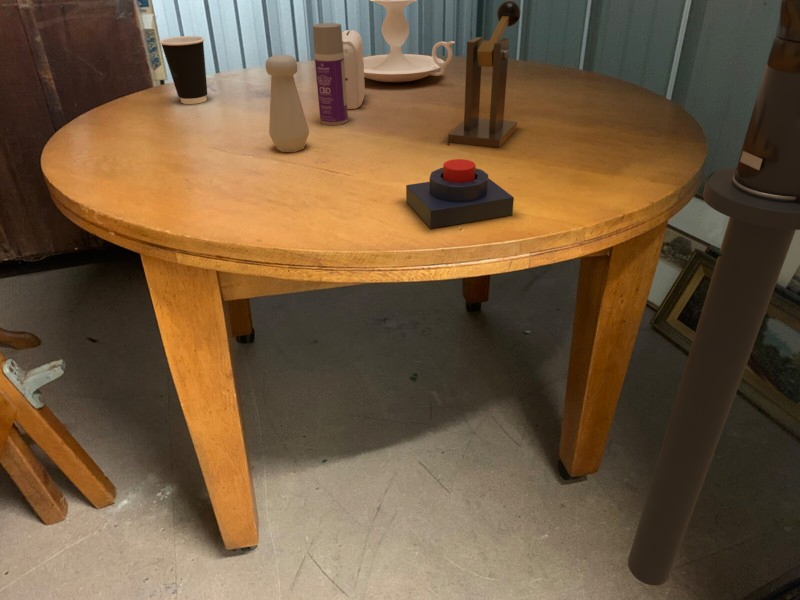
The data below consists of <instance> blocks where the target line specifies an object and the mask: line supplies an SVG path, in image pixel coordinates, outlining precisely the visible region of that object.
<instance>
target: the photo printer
mask: <svg viewBox="0 0 800 600" xmlns="http://www.w3.org/2000/svg"><path fill="white" fill-rule="evenodd" d="M342 41H343V52H344V65H345V80H346V96H347V110H355V109H357V108H360V107H361V106H362V104H363V101H364V99H365V94H366V87H365V86H366V83H365V77H364V62H363V57H364V46H363V45H364V43H363V39H362V36H361V35H360V33H359V32H357V31H356V30H353V29H351V30H348V29H346V30H344V31H342Z"/></svg>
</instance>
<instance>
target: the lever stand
mask: <svg viewBox="0 0 800 600" xmlns="http://www.w3.org/2000/svg"><path fill="white" fill-rule="evenodd" d="M483 40H484V38H483V37H481V36H477V37H474V38H472V39H470V40H468V41H467V42H466V59H465V60H466V61H465V64H466V65H465V86H464V112H463V113H464V116H463V122H461V123H460V124H459V125H458V126H456V127H455V128H454V129H453V130H451V131H450V132H449V133H448V135H447V143H453V144H461V145H471V146H479V147H489V148H495V149H496V148H497V149H500V148H501V147H502V146H503V145H504V144H505V142H506V141H507V140H508V139H509V138H510V137H511V136H512V135H513V134H514V133H515V132H516V131H517V128H518V121H514V120H513V121H511V120H505V104H506V91H507V79H508V78H507V77H508V62H509V57H510V50H509V49H510V38H504V37H503V38H501V39H500V40H499V41H498V42H496V43H494V56H493V67H492V74H491V92H490V108H489V109H490V110H489V118H482V117H480V103H481V100H480V99H481V83H482V82H481V80H482V66H478V57H477V50H478V48H479V46H480V45H481V43H482V41H483Z"/></svg>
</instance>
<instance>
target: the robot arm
mask: <svg viewBox="0 0 800 600" xmlns="http://www.w3.org/2000/svg"><path fill="white" fill-rule="evenodd" d="M772 40H773V41H772V44H771V48H770V51H769V55H768V58H767V61H766V65H765V68H764V72H763V75H762V79H761V81H760V85H759V89H758V92H757V95H756V99H755V102H754V106H753V109H752V113H751V116H750V120H749V123H748V126H747V130H746V134H745V136H744V139H743V140H744V141H743V143H742V147H741V150H740V154H739V157H738V162H737V164H736V166H735V167H736V172H735V174H734V175H733V179H732V185H733V186H734V187H735V188H736V189H738V190H739V191H741V192H743V193H745V194H748V195H751V196H754V197H757V198H761V199H765V200H771V201H778V202H791V203H797V204H800V0H781V1H780V7H779V18H778V23H777V27H776V31H775V35H774V37H773V39H772Z"/></svg>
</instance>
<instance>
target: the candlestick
mask: <svg viewBox="0 0 800 600" xmlns="http://www.w3.org/2000/svg"><path fill="white" fill-rule="evenodd" d="M368 1H370V2H372V3H376V4H378V5H380V6H381V7H384V9H385V10H386V13H385V14H386V15H385V17H384V19H383V22H382V25H381V33H382V37H383V39H384V41H385V42H386V43H387V45H389V46H390V48H389V49H390V50H389V53H388V54H375V55H369V56H363V62H364V79H369V80H372V81H375V82H382V83H405V82H412V81H418V80H421V79H424V78H426V77H427V78H428V76H435V77H438V76H439V77H440V76H443V75H444V74H445V73H446V69H447V66H449V64H450V63H451V62H452V60H453V54H454V53H453V49H452V45H454V44H455V43H456V42H455V41H454V40H451V41H448V42H446V41H439V42H436V43H435V44H434V45H433V46H432V49H431V56H430V55H424V54H414V53H412V54H411V53H403V51H402V46H403V44H405V42H406V41H407V39H408V37H409V34H410V25H409V22H408V19H407V18H406V17H405V13H404V10H405V8H406V7H408V5H410V4H413V3H414V2H417V1H418V0H368ZM440 46H442V47H444V48H445V49H446V52H447V58H446V60H443V59H441V58H439V57H438V56H437V55H438V54H437V51H438V48H439V47H440ZM439 69H440V70H439ZM437 70H439V72H437Z"/></svg>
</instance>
